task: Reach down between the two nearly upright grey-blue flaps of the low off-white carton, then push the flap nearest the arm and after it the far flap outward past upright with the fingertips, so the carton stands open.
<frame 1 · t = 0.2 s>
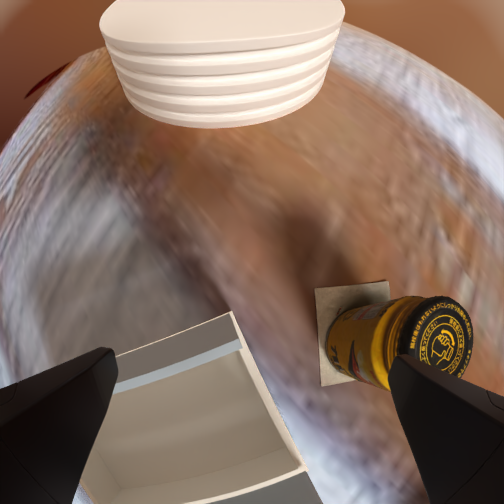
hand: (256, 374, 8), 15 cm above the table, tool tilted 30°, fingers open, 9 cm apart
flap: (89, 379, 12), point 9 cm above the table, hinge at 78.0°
condiment: (356, 332, 23), on the table
plate stack: (222, 59, 32), on the table
carton: (167, 421, 20), on the table
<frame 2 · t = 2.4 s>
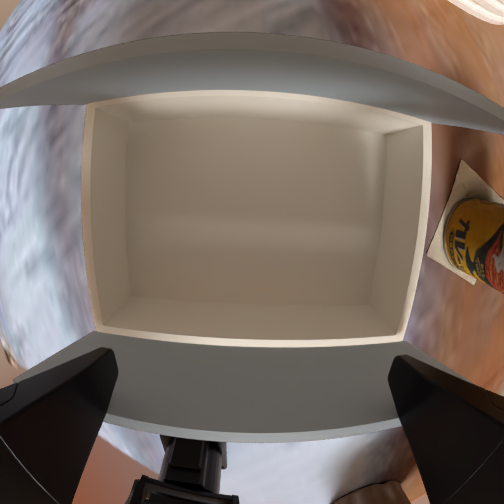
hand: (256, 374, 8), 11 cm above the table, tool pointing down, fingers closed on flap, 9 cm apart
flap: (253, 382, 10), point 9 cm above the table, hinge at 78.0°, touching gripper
plant pot: (365, 496, 28), on the table
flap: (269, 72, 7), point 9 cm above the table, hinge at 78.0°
condiment: (468, 225, 18), on the table
carton: (255, 212, 17), on the table
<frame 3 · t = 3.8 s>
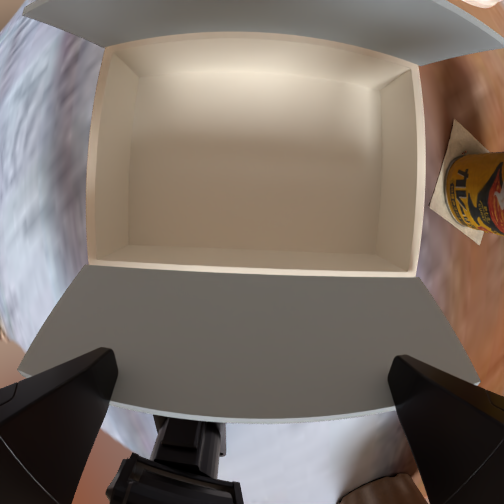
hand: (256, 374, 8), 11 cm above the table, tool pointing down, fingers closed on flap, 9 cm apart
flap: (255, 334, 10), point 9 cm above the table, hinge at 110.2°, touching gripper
plant pot: (374, 492, 26), on the table
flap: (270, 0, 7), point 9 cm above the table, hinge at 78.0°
condiment: (468, 183, 18), on the table
carton: (257, 157, 17), on the table
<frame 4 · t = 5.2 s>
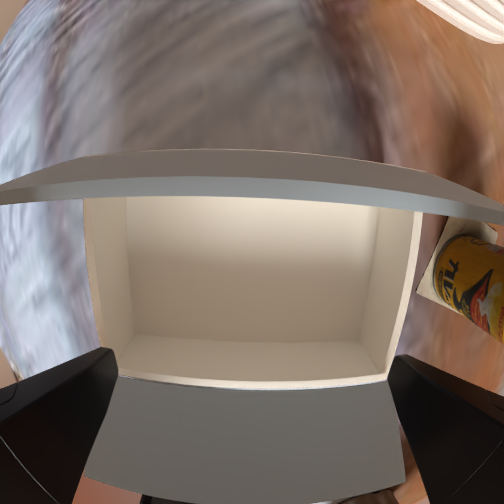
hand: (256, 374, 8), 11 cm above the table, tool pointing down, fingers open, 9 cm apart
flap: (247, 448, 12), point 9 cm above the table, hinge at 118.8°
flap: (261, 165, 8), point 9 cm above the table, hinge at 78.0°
condiment: (459, 259, 19), on the table
carton: (251, 260, 19), on the table
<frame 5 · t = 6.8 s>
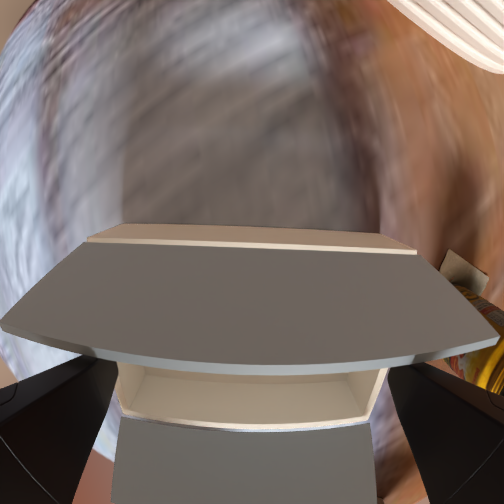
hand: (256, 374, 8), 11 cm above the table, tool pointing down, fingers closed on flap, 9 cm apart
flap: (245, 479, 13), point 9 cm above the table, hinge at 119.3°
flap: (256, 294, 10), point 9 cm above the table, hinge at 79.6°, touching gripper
condiment: (448, 304, 20), on the table
carton: (249, 317, 20), on the table
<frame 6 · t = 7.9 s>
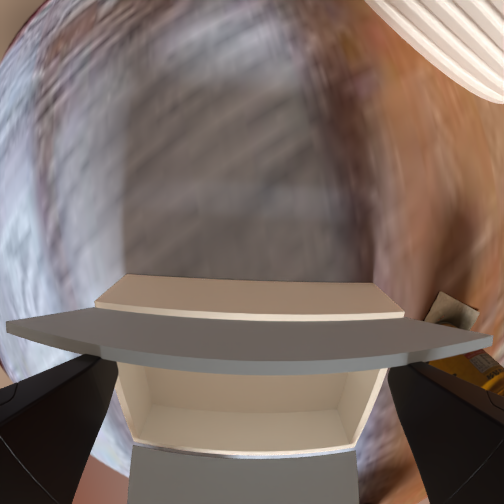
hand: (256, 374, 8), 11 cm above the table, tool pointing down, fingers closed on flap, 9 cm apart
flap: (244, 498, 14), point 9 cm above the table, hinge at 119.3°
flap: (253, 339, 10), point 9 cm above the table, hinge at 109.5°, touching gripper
condiment: (437, 339, 21), on the table
carton: (247, 358, 21), on the table
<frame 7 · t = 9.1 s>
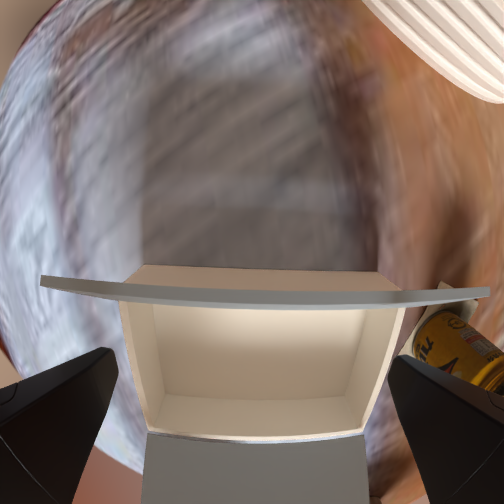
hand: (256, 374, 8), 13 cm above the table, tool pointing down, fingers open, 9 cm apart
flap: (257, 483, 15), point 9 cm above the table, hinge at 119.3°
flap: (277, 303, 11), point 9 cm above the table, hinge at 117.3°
condiment: (439, 328, 22), on the table
carton: (259, 345, 22), on the table
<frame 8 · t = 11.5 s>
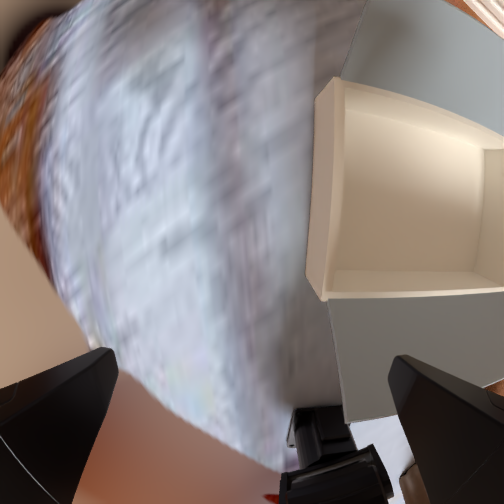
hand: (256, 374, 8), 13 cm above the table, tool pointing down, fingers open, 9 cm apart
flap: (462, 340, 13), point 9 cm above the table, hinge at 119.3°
plant pot: (428, 464, 30), on the table
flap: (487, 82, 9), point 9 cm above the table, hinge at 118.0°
carton: (416, 198, 19), on the table
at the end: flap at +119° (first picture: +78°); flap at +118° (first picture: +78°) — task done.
